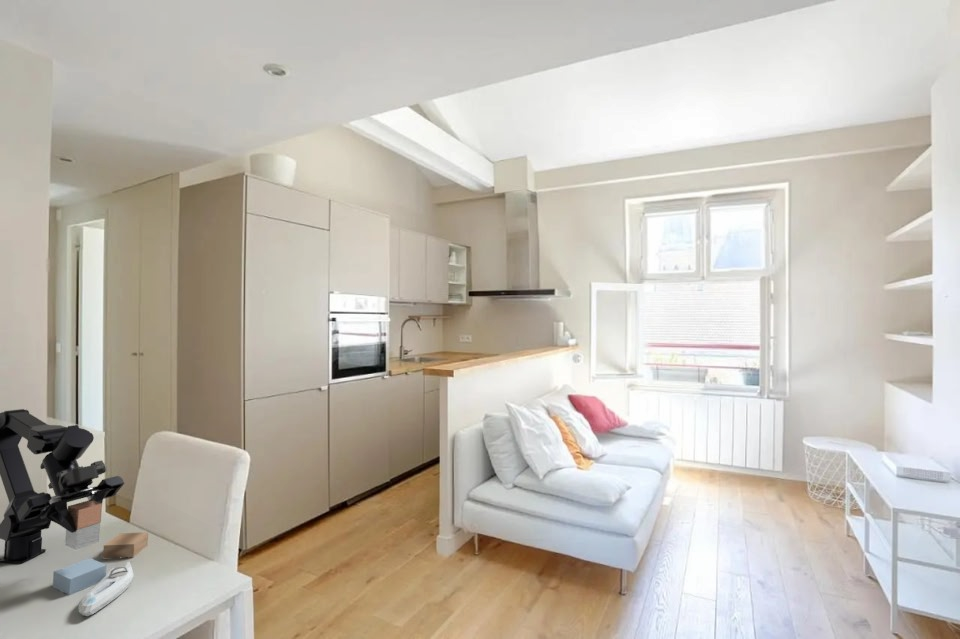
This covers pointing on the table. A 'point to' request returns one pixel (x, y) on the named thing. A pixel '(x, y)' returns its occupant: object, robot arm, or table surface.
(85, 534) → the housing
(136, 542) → the stand
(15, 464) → the robot arm
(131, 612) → the table surface
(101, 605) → the spaceship
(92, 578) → the stand
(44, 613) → the table surface
